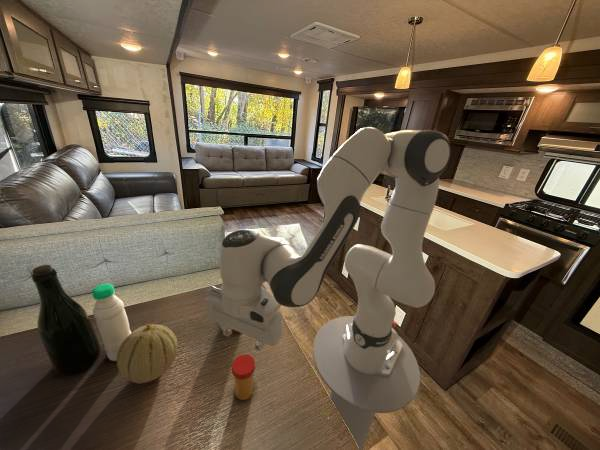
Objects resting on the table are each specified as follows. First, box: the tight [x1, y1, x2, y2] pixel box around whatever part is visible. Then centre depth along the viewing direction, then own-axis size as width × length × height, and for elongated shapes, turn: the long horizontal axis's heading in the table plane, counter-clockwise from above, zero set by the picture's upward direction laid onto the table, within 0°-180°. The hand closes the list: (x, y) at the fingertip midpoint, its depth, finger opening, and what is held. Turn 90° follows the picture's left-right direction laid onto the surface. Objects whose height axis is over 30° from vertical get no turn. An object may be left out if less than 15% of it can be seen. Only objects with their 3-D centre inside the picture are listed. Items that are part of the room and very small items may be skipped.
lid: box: [231, 353, 256, 380], centre depth 65 cm, size 6×6×2 cm
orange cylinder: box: [234, 373, 254, 401], centre depth 67 cm, size 5×5×11 cm
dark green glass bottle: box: [31, 264, 102, 377], centre depth 67 cm, size 10×10×33 cm
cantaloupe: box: [116, 323, 179, 384], centre depth 70 cm, size 15×15×15 cm
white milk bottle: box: [91, 283, 132, 362], centre depth 72 cm, size 7×7×25 cm
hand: (243, 341), depth 62 cm, fingers open, 8 cm apart
